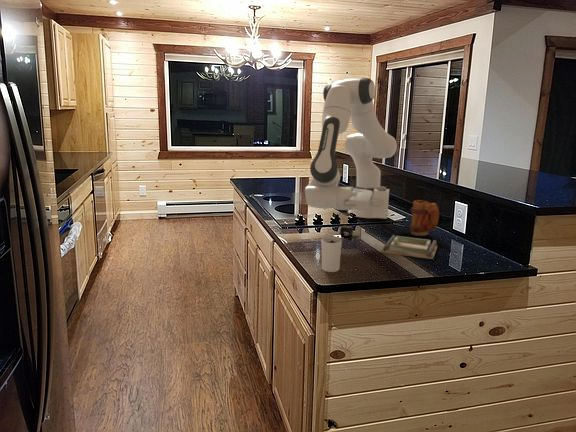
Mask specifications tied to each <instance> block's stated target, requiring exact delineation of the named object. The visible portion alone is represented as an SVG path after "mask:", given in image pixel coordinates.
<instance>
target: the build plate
mask: <svg viewBox="0 0 576 432" xmlns="http://www.w3.org/2000/svg"><path fill="white" fill-rule="evenodd" d="M339 231H340V232H338V233H339V234H338V233H336V234H333V236H332V237H337V236H339V237H338V238H342V237H344V238H343V239H346V238H348V239H347V240H352V241H354V240H357V239H358V238H360V236H357V235H353V232H354V230H353V226H350V225H349V226H348V225H342V226H340V230H339Z"/></svg>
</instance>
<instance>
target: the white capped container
mask: <svg viewBox="0 0 576 432" xmlns="http://www.w3.org/2000/svg"><path fill="white" fill-rule="evenodd" d="M389 198H390V188H387V186H383V185H382V186H381V185H380V186H378V187H377V189H374V192H373V200H383V205H382V206H381V205H377V206H373V210H372V218H371V219H388V214H389V213H388V212H389Z"/></svg>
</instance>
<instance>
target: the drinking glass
mask: <svg viewBox="0 0 576 432" xmlns="http://www.w3.org/2000/svg"><path fill="white" fill-rule="evenodd" d="M342 241H343V240H342V239H341V238H340V237H337V236H325V237H322V238H321V245H320V246H321V270H323V271H324V272H327V273H328V272H329V273H335V272H338V271H340V268H341V267H340V265H341V255H342V254H341V252H342V243H343V242H342Z"/></svg>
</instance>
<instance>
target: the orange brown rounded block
mask: <svg viewBox="0 0 576 432" xmlns="http://www.w3.org/2000/svg"><path fill="white" fill-rule="evenodd" d="M409 211H410V212H411V222H410V224H409V225H408V230H410V234H411V235H412V236H414V237H425V236H428V235H429V231H431V230H434V229H435V228H436V227H437V226H438V224H439V219H440V210H439V207H438V205H437V203H436V202H429V201H427V200H423V199H416V200H413V204H412V207H410V209H409ZM429 218H430V219H429Z"/></svg>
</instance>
